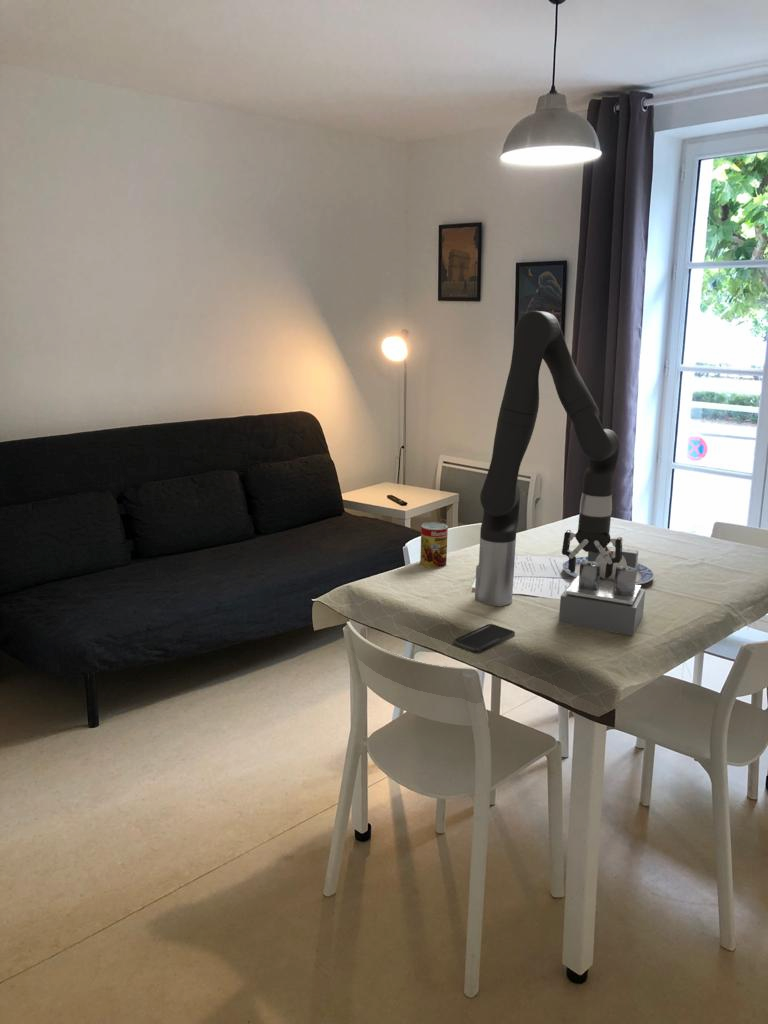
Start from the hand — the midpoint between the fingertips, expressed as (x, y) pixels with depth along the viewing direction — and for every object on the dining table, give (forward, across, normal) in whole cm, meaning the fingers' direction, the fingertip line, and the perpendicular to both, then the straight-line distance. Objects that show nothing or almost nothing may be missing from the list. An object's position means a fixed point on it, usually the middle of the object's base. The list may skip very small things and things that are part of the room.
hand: (589, 574), depth 205 cm
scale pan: (+4, +4, +1) cm, 5 cm away
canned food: (+12, -50, +22) cm, 56 cm away
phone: (+12, -18, -25) cm, 33 cm away
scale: (+11, +4, +3) cm, 12 cm away
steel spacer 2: (+3, +8, 0) cm, 9 cm away
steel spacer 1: (+3, 0, 0) cm, 3 cm away
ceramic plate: (+12, -1, +36) cm, 38 cm away
